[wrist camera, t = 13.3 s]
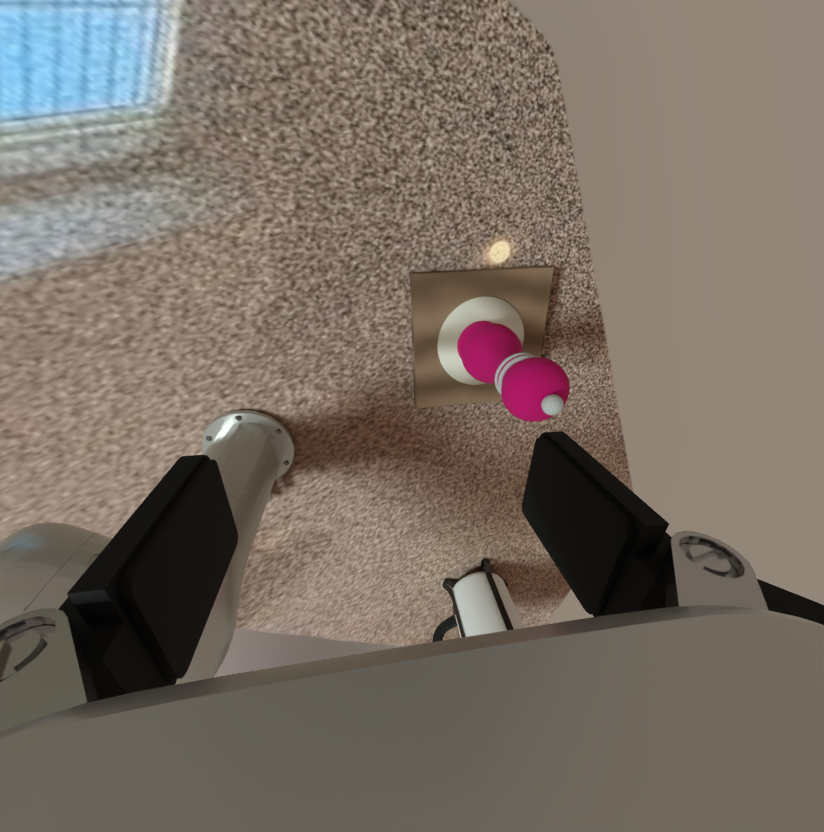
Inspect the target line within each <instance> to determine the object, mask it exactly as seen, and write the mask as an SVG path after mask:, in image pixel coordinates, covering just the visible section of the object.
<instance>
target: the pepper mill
mask: <svg viewBox="0 0 824 832" xmlns="http://www.w3.org/2000/svg"><path fill="white" fill-rule="evenodd" d="M457 350H458V354H459V356H460V358H461V359H462V363H463V366H464V368H465V369H466V371H467V372H468V373H469V374H470V375H471V376H472V377H473V378H475V379H476V380H478V381H481V382H484V383H490V384H494V383H495V386H496V389H497V391H498V392H499V393H500V394H501V396H502V400H503V403H504V405H505V406H506V408H507V409H508V410H509V411H510V412H511V413H512V414H513V415H514V416H516V417H517V418H519V419H522V420H525V421H531V422H535V421H543V420H546V419H549V418H551V417H552V416H554V415H557V414H559V413H560V412H561V411H562V410H563V408H564V405H565V403H566V401H567V399H568V395H569V388H570V386H569V380H568V377H567V375H566V373H565V371H564V370H563V369H562V368H561V367H560V366H559V365H558V364H557V363H556V362H554V361H552V360H550V359H547V358H543V357H535V356H534V355H532V354H530V353H523V351H522V345H521V342H520V340H519V338H518V337H517V335H516V334H515V333H514V332H513V331H512V330H511V329H509V328H508V327H507V326H504V325H502V324H497V323H491V322H488V321H477V322H474V323H472V324H470V325H469V326H467V327H466V328H465V329H464V330H463V332H462V333H461V335H460V337H459V339H458V343H457Z"/></svg>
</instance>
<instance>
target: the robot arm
mask: <svg viewBox="0 0 824 832" xmlns="http://www.w3.org/2000/svg"><path fill="white" fill-rule="evenodd" d="M239 415H240V416H239ZM279 429H280V430H279ZM202 448H203V453H204V454H203V455H194V456H182V457H180V458H179V459H178V460H177V462H176V463H175V464H174V465H173V466H172V468H171V469H170V470H169V471H168V472H167V474H166V475H165V476H164V477H163V478H162V480H161V481H160V482H159V483H158V485H157V486H156V487H155V488H154V489H153V491H152V492H151V493H150V494H149V495H148V497H147V498H146V499H145V500H144V501H143V503H142V504H141V505H140V506H139V507H138V509H137V510H136V511H135V512H134V513H133V515H132V516H131V517H130V518H129V519H128V521H127V522H126V523H125V524H124V525H123V527H122V528H121V529H120V530H119V531H118V533H117V534H116V535H115V536H114V537H113V539H112V538H109V537H106V536H103V535H101V534H98V533H95V532H92V531H89V530H86V529H83V528H79V527H76V526H72V525H68V524H63V523H54V522H53V523H39V524H34V525H31V526H28V527H25V528H23V529H21V530H19V531H16V532H15V533H13V534H11V535H10V536H8V537H7V538H5V539H4V540H2V541H1V542H0V832H824V605H822V604H819V603H817V602H814V601H812V600H809V599H806V598H804V597H802V596H799V595H797V594H794V593H791V592H789V591H786V590H784V589H781V588H779V587H776V586H774V585H771V584H769V583H766V582H764V581H761V580H759V579H757V578H756V575H755V573H754V571H753V569H752V567H751V565H750V564H749V562H748V561H747V560H746V559H745V558H744V557H743V556H742V555H741V554H740V553H738V552H737V551H736V550H734V549H733V548H731V547H730V546H729V545H727V544H725V543H723V542H721V541H720V540H718V539H715V538H713V537H710V536H707V535H705V534H701V533H697V532H692V531H682V532H677V533H676V534H674V535H673V536H672V537H670V536H669V535H668V534H667V533H666V532H665V531H666V529H667V527H668V525H669V523H668V522H666V521H665V520H664V519H663V518H662V517H661V516H660V515H658V514H657V513H656V512H655V511H654V510H653V509H651V508H650V507H649V506H648V505H647V504H646V503H645V502H643V501H642V500H641V499H640V498H639V497H638V496H637V495H635V494H634V493H633V492H632V491H631V490H630V489H629V488H627V487H626V486H625V485H624V484H623V483H622V482H621V481H619V480H618V479H617V478H616V477H615V476H614V475H613V474H611V473H610V472H609V471H608V470H607V469H606V468H605V467H603V466H602V465H601V464H600V463H599V462H598V461H596V460H595V459H594V458H593V457H592V456H591V455H590V454H588V453H587V452H586V451H585V450H584V449H583V448H582V447H580V446H579V445H578V444H577V443H576V442H575V441H574V440H572V439H571V438H570V437H569V436H568V435H567V434H566V433H564V432H545V433H543V434H542V435H541V437H539V438H537V440H536V442H535V446H534V451H533V456H532V460H531V465H530V469H529V474H528V479H527V483H526V488H525V493H524V497H523V502H522V510H523V514H524V516H525V517H526V519H527V520H528V522H529V524H530V525H531V527H532V528H533V530H534V531H535V533H536V534H537V536H538V538H539V539H540V541H541V542H542V544H543V545H544V547H545V549H546V550H547V552H548V553H549V555H550V556H551V558H552V559H553V561H554V563H555V564H556V566H557V567H558V569H559V570H560V572H561V574H562V575H563V577H564V578H565V580H566V581H567V583H568V584H569V586H570V588H571V589H572V591H573V592H574V594H575V595H576V597H577V599H578V600H579V602H580V603H581V605H582V606H583V608H584V609H585V611H586V612H588V613H589V614H593V616H594V617H593V618H586V619H580V620H573V621H566V622H560V623H553V624H546V625H540V626H533V627H527V628H520V629H513V630H507V631H500V632H494V633H487V634H481V635H475V636H468V637H462V638H456V639H449V640H443V641H436V642H430V643H424V644H417V645H411V646H405V647H399V648H392V649H386V650H379V651H373V652H367V653H361V654H354V655H348V656H342V657H336V658H330V659H324V660H318V661H312V662H305V663H299V664H293V665H287V666H281V667H275V668H269V669H262V670H256V671H250V672H244V673H238V674H232V675H226V676H221V677H215V678H213V677H214V676H215V674H216V673H217V671H218V669H219V668H220V666H221V664H222V663H223V660H224V658H225V656H226V654H227V652H228V649H229V646H230V643H231V640H232V637H233V634H234V630H235V626H236V620H237V615H238V607H239V599H240V591H241V585H242V579H243V575H244V570H245V567H246V563H247V559H248V556H249V553H250V550H251V547H252V544H253V541H254V538H255V535H256V533H257V530H258V527H259V524H260V521H261V518H262V515H263V513H264V510H265V507H266V504H267V502H270V501H272V499H273V497H272V494H271V490H272V487H273V484H274V481H275V480H276V479H278V478H279V477H281V476H282V475H283V474H284V473H286V472H287V471H288V469H289V468H290V466H291V464H292V461H293V458H294V454H295V446H294V441H293V438H292V436H291V434H290V433H289V431H288V430H287V429H286V427H285V426H284V425H282V424H281V423H280V422H279V421H278V420H276V419H274V418H273V417H271V416H269V415H267V414H264V413H261V412H257V411H251V410H237V411H232V412H228V413H226V414H223V415H221V416H219V417H218V418H217V419H215V420H214V421H213V422H212V423H211V424H210V425H209V427H208V428H207V430H206V431H205V433H204V436H203V440H202Z"/></svg>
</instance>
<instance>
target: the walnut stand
mask: <svg viewBox="0 0 824 832" xmlns="http://www.w3.org/2000/svg"><path fill="white" fill-rule="evenodd" d="M553 271H554V267H548V266H535V267H515V268H494V269H474V270H454V271H434V272H414V273H410V287H411V316H412V346H413V375H414V402H415V404H416V407H417V408H427V407H437V406H448V405H458V404H468V403H479V402H489V401H500V400H502V396H501V394H500V393H499V392H498V391H497V389H496V386H495V383H494V384H490V383H484V382H481V381H478V380H476V379H475V378H473V377H472V376H471V375H470V374H469V373H468V372H467V371H466V369H465V368H464V366H463V363H462V359H461V358H460V356H459V354H458V350H457V343H458V339H459V337H460V335H461V333H462V332H463V330H464V329H465V328H466V327H467V326H469V325H470V324H472V323H474V322H477V321H488V322H491V323H497V324H502V325H504V326H507V327H508V328H509V329H511V330H512V331H513V332H514V333H515V334H516V335H517V337H518V338H519V340H520V342H521V345H522V351H523V353H530V354H532V355H534V356H535V357H541V350H542V343H543V337H544V330H545V324H546V317H547V310H548V304H549V297H550V291H551V284H552V278H553Z"/></svg>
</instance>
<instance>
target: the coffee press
mask: <svg viewBox="0 0 824 832" xmlns="http://www.w3.org/2000/svg"><path fill="white" fill-rule="evenodd" d="M446 583H447V584H448V585H450V586H451V587H452V588H453V590H452V589H451V588H450V587H449V586H448V585H447V584H446ZM443 587H444V588H445V589H446V590H447V591H448V593H449V594H450V596H451V601H452V606H453V614H454V615H452V617H450V618H448V619H446V620H445V621H443V622H442V623H441V624H440V625H439V626H438V627H437V628H436V630H435V633H434V636H433V642H436V641H442V639H443V636H444V634H445V633H446V632H447V631H448V630H450V629H451V628H453V627H455V626H458V629H459V633H460V637H461V638H462V637H468V636H475V635H481V634H487V633H494V632H500V631H507V630H513V629H520V628H524V626H523V624H522V622H521V619H520V617H519V615H518V612H517V610H516V608H515V606H514V603H513V601H512V599H511V596H510V594H509V592H508V589H507V583H506V582H505V581H503V580H502V578H501V577H499V576H498V575H496V574H494V573H491V564H490V561H489V560H482V561H481V571H480V572H476V573H472V574H470V575H467V576H465V577H464V578H462V579H461V580H459V581H458V582H457V583H454V582H452V581H451V580H450V579H445V580H444V582H443Z"/></svg>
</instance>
